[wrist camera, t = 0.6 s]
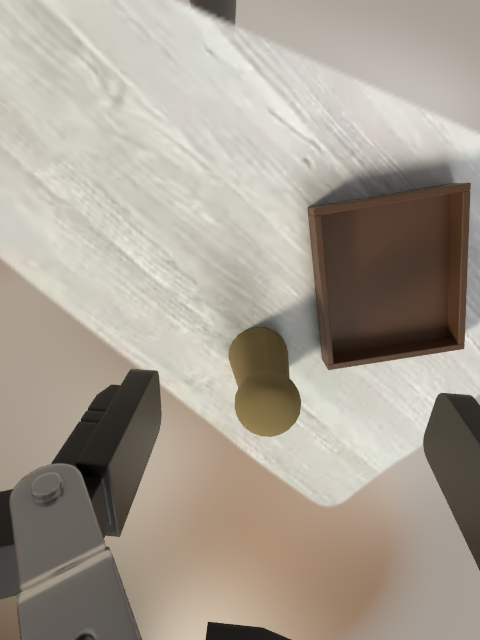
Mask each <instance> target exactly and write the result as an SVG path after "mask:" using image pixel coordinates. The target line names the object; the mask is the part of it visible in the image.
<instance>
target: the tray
mask: <svg viewBox="0 0 480 640" xmlns="http://www.w3.org/2000/svg"><path fill="white" fill-rule="evenodd" d="M469 190H470V183H453V184H447V185H441V186H435V187H429V188H423V189H417V190H411V191H405V192H399V193H393V194H387V195H381V196H375V197H369V198H363V199H356V200H350V201H344V202H338V203H332V204H326V205H320V206H314V207H308V217H309V227H310V238H311V248H312V259H313V269H314V279H315V290H316V300H317V311H318V321H319V332H320V342H321V353H322V360H323V362H324V363H325V365H326V367H327V369H328V370H332V369H338V368H345V367H351V366H358V365H364V364H370V363H377V362H383V361H390V360H396V359H402V358H409V357H415V356H422V355H428V354H434V353H441V352H447V351H454V350H460V349H464V341H465V315H466V288H467V261H468V235H469V208H470V191H469Z"/></svg>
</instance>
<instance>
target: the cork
mask: <svg viewBox="0 0 480 640" xmlns="http://www.w3.org/2000/svg"><path fill="white" fill-rule="evenodd" d="M229 360H230V364H231V367H232V370H233V373H234V376H235V379H236V382H237V385H238V391H237V393H236V395H235V410H236V414H237V417H238V419H239V421H240V422H241V423H242V425H243V426H244V427H245V428H246V429H248V430H249V431H250V432H252V433H254V434H257V435H260V436H269V437H271V436H276V435H280V434H282V433H284V432H285V431H287V430H288V429H289V428H290V427H291V426H292V425H293V424H294V423H295V422H296V420H297V418H298V416H299V414H300V407H301V399H300V395H299V392H298V389H297V388H296V386H295V384H294V383H293V381H291V380H290V379H289V362H288V351H287V346H286V343H285V342H284V340H283V339H282V337H281V336H280V335H279V334H277V333H276V332H275V331H272V330H270V329H267V328H257V327H256V328H252V329H248V330H246V331H244V332H242V333H241V334H239V335H238V336H237V337H236V338H235V339H234V341H233V342H232V345H231V347H230V349H229Z"/></svg>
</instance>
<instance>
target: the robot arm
mask: <svg viewBox="0 0 480 640" xmlns="http://www.w3.org/2000/svg"><path fill="white" fill-rule="evenodd" d="M160 425H161V398H160V383H159V374H158V371H154V370H141V369H131V370H130V371H129V372H128V374H127V376H126V378H125V379H124V381H123V383H122V384H121V385H110V386H109V387H107V388H106V389H105V390H103V391H102V392H100V393H99V394H98V395H97V396H96V397H95V399H94V400H93V402H92V403H91V405H90V406H89V408H88V411H86V412H85V414H84V415H83V417H82V418H81V422H79V423H78V424H77V426H76V427H75V429H74V430H73V432H72V434H71V435H70V436H69V438H68V439H67V441H66V442H65V444H64V445H63V447H62V448H61V450H60V451H59V453H58V454H57V456H56V457H55V459H54V460H53V462H52V464H50V465H47V466H43V467H40V468H38V469H36V470H34V471H32V472H30V473H29V474H28V475H26V476H25V477H24V478H22V479H21V481H19V483H18V484H17V485H16V486H15V487H14V489H11V490H7V491H2V492H0V599H3V598H8V597H12V596H16V605H17V615H18V624H19V633H20V640H142V638H141V635H140V632H139V629H138V626H137V623H136V621H135V618H134V615H133V612H132V609H131V607H130V604H129V601H128V598H127V595H126V592H125V589H124V586H123V583H122V580H121V578H120V575H119V572H118V569H117V566H116V563H115V560H114V558H113V555H112V553H111V550H110V548H109V547H107V546H106V544H105V541H104V537H105V535H106V536H116V537H120V535H121V532H122V529H123V527H124V524H125V521H126V519H127V516H128V513H129V510H130V508H131V505H132V502H133V500H134V497H135V495H136V492H137V489H138V487H139V484H140V481H141V479H142V476H143V473H144V470H145V468H146V465H147V463H148V460H149V457H150V455H151V452H152V449H153V447H154V444H155V441H156V439H157V436H158V433H159V429H160ZM423 445H424V452H425V455H426V458H427V460H428V462H429V464H430V467H431V469H432V471H433V473H434V475H435V477H436V479H437V481H438V484H439V486H440V488H441V490H442V492H443V494H444V496H445V498H446V500H447V503H448V505H449V507H450V509H451V511H452V513H453V515H454V517H455V519H456V521H457V524H458V525H459V527H460V530H461V532H462V534H463V536H464V538H465V540H466V543H467V545H468V547H469V549H470V551H471V553H472V555H473V557H474V559H475V561H476V564H477V565H478V568H479V570H480V405H479V404H478V403H477V401H476V400H475V399H474V398H473V397H472V396H471V395H462V394H449V393H440V394H439V395H438V396H437V398H436V401H435V404H434V407H433V410H432V413H431V416H430V419H429V422H428V425H427V428H426V431H425V434H424V440H423ZM206 640H291V639H288V638H286V637H283V636H281V635H279V634H276V633H274V632H272V631H269V630H267V629H265V628H260V627H251V626H242V625H233V624H224V623H214V622H208V626H207V634H206Z"/></svg>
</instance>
